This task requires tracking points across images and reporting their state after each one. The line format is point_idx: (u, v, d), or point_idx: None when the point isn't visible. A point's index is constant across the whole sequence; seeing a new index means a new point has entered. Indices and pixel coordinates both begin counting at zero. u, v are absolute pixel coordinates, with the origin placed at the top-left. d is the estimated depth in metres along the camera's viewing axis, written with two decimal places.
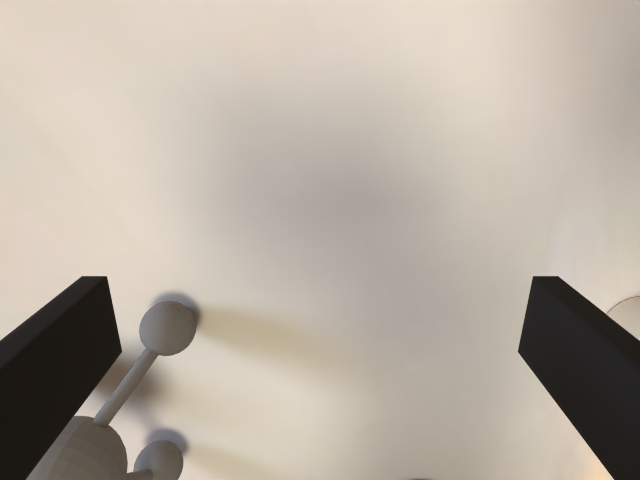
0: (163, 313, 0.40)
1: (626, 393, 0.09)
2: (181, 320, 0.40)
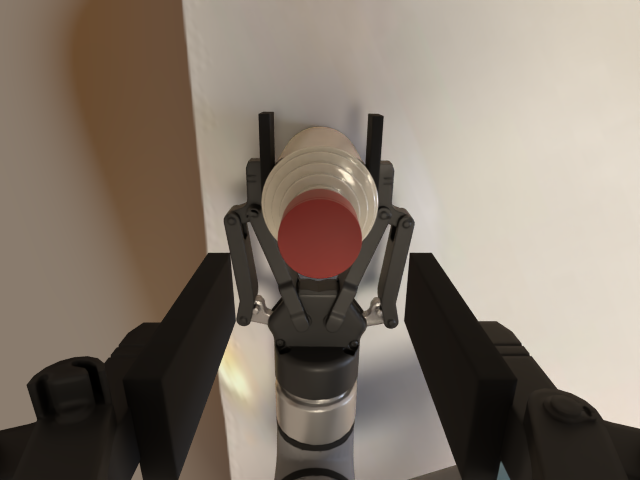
0: None
1: (442, 341, 0.10)
2: None
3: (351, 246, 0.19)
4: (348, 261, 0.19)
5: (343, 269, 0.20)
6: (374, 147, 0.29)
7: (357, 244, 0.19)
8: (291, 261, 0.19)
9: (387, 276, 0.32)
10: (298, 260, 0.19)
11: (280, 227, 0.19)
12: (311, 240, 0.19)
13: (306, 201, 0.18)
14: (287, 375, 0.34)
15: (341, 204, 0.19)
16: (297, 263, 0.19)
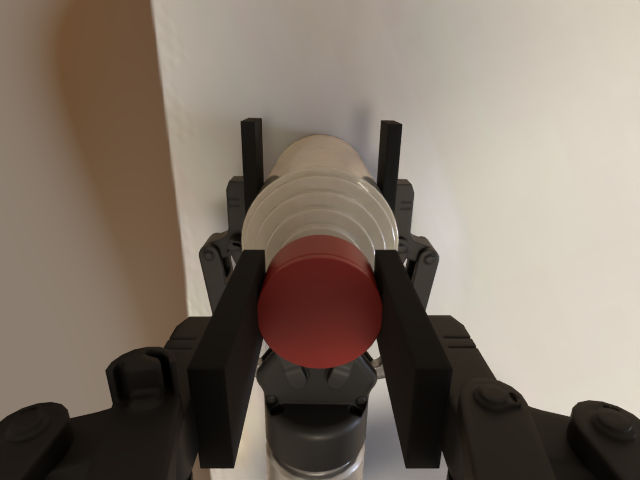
0: None
1: (393, 334, 0.11)
2: None
3: (367, 324, 0.13)
4: (362, 345, 0.13)
5: (354, 356, 0.13)
6: (390, 164, 0.22)
7: (376, 321, 0.13)
8: (277, 345, 0.13)
9: None
10: (288, 344, 0.13)
11: (260, 298, 0.12)
12: (306, 316, 0.13)
13: (299, 260, 0.12)
14: (279, 442, 0.27)
15: (352, 264, 0.12)
16: (286, 348, 0.13)
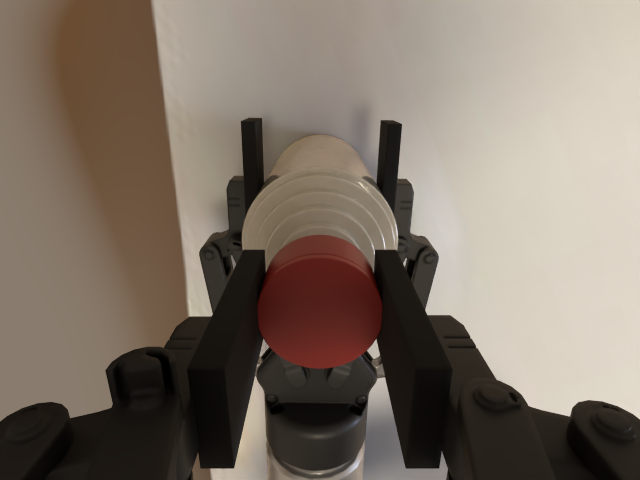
0: None
1: (393, 334, 0.11)
2: None
3: (308, 273, 0.12)
4: (333, 266, 0.12)
5: (348, 268, 0.12)
6: (390, 164, 0.22)
7: (301, 266, 0.12)
8: (368, 337, 0.13)
9: None
10: (362, 329, 0.13)
11: (325, 366, 0.13)
12: (325, 326, 0.13)
13: (275, 351, 0.13)
14: (280, 440, 0.28)
15: (257, 309, 0.13)
16: (367, 329, 0.13)
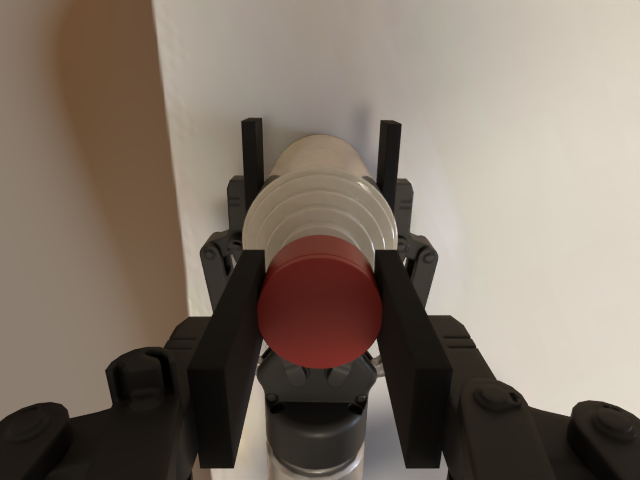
0: None
1: (394, 334, 0.11)
2: None
3: (282, 342, 0.13)
4: (265, 325, 0.13)
5: (259, 314, 0.13)
6: (389, 164, 0.23)
7: (279, 349, 0.13)
8: (321, 265, 0.12)
9: None
10: (315, 274, 0.12)
11: (374, 287, 0.12)
12: (328, 308, 0.13)
13: (376, 335, 0.13)
14: (280, 439, 0.28)
15: (340, 363, 0.13)
16: (312, 270, 0.12)
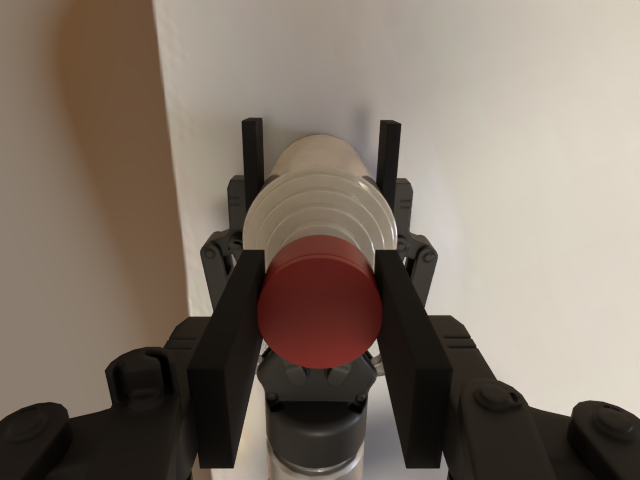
0: None
1: (394, 334, 0.11)
2: None
3: (362, 335, 0.13)
4: (351, 353, 0.13)
5: (341, 362, 0.13)
6: (389, 163, 0.23)
7: (371, 334, 0.13)
8: (269, 335, 0.13)
9: None
10: (280, 336, 0.13)
11: (267, 284, 0.12)
12: (307, 313, 0.13)
13: (316, 258, 0.12)
14: (280, 438, 0.28)
15: (366, 274, 0.12)
16: (278, 340, 0.13)
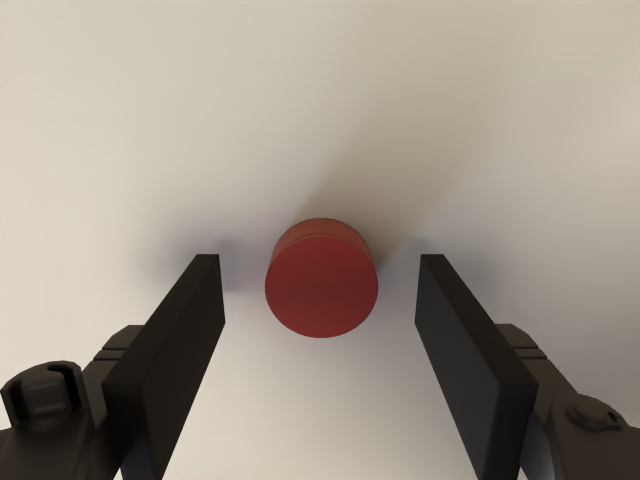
0: None
1: (458, 344, 0.10)
2: None
3: (359, 307, 0.14)
4: (350, 324, 0.15)
5: (341, 332, 0.15)
6: None
7: (367, 306, 0.14)
8: (277, 307, 0.14)
9: None
10: (286, 308, 0.14)
11: (274, 261, 0.14)
12: (310, 287, 0.14)
13: (318, 237, 0.14)
14: None
15: (362, 251, 0.14)
16: (284, 311, 0.15)
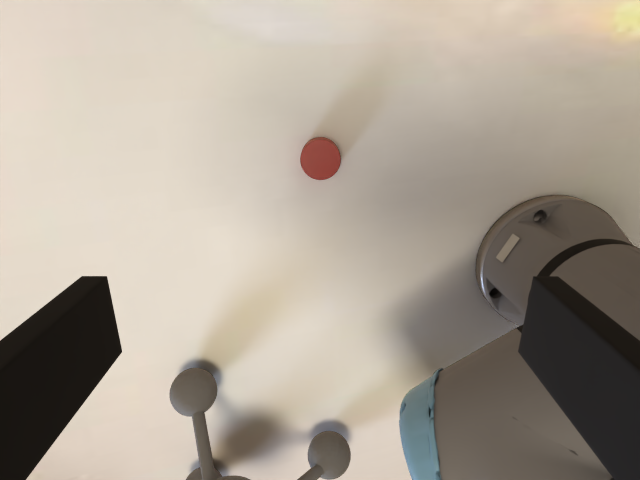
0: (171, 391, 0.48)
1: (626, 393, 0.09)
2: (181, 382, 0.47)
3: (334, 166, 0.40)
4: (330, 174, 0.41)
5: (327, 177, 0.41)
6: None
7: (337, 166, 0.40)
8: (304, 167, 0.40)
9: None
10: (308, 167, 0.40)
11: (304, 149, 0.40)
12: (316, 159, 0.40)
13: (319, 139, 0.40)
14: None
15: (334, 145, 0.40)
16: (307, 168, 0.40)
